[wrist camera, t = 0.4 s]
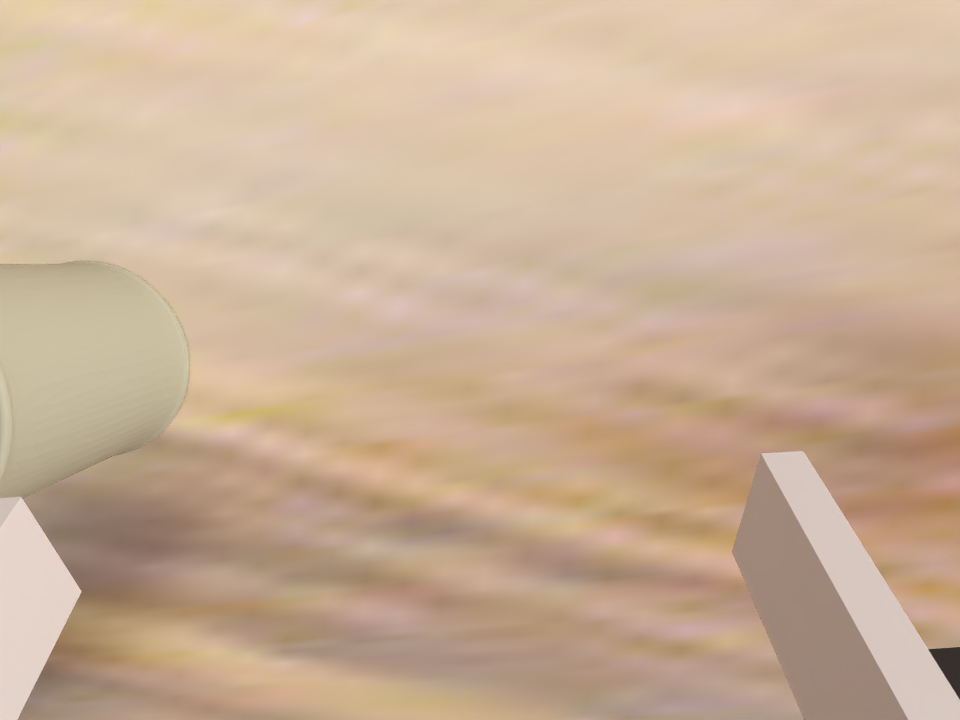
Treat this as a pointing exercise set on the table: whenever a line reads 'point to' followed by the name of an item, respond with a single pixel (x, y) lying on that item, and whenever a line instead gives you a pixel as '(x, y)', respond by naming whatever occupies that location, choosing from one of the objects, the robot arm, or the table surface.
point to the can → (82, 369)
